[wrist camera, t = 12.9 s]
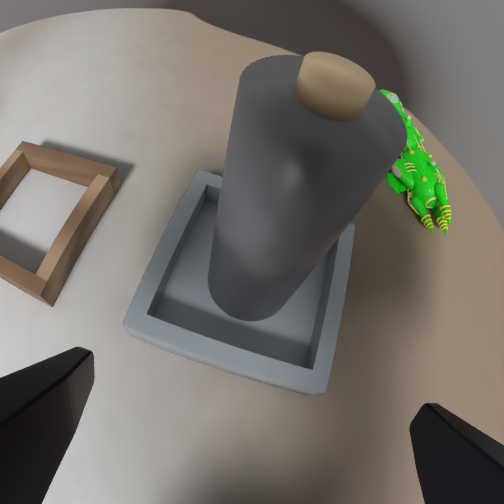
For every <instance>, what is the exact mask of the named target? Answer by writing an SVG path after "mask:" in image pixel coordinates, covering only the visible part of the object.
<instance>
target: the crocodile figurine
mask: <svg viewBox="0 0 504 504" xmlns="http://www.w3.org/2000/svg"><path fill="white" fill-rule="evenodd" d="M379 91H380V92H381V93H383V94H384V95H385V96H386V97H387V98H388V99H389V100H390V102H391V103H392V104H393V105H394V106H395V108H396V109H397V110H398V112H399V114H400V115H401V117H402V119H403V121H404V124H405V126H406V130H407V144H406V146H405V149H404V150H403V152H402V153H401V154H400V156H399V157H400V159H397V160H396V161H395V163H394V164H393V166H392V167H391V169H392V172H389V173H387V175H386V179H387V182H388V183H389V184H390V186H391V187H392V188H393V189H394V190H395V191H396V192H397V193H398V194H400V192H403V191H407V190H408V196H407V197H408V204H409V201H410V200H409V198H410V197H411V201H410V203H411V205H410V204H409V205H410V206H411V207H412V209H413V210H415V212H416V213H417V214H418V215H419V216H420V217H421V222H424V223H423V224H424V225H426V228H428V230H431V232H432V233H434V231H433V227H434V226H433V222H431V221H432V219H431V218H430V217H431V215H430V214H428V213H427V210H426V208H432V210H433V212H434V214H435V216H436V217H437V223H438V225H439V226H440V228H441V229H442V231H444V232H445V234H447V229H448V228H447V227H448V225H447V221H448V223H449V224H451V222H450V220H451V216H452V214H451V210H450V208H451V206H450V205H449V204H448V198H447V191H446V185H445V179H444V176H443V174H442V172H441V171H440V169H438V165H437V163H435V162H434V161H431V159H430V158H431V157H432V155H430V154H427V153H426V151H425V149H424V147H423V145H422V143H423V142H424V138H423V136H422V134H421V132H420V131H419V130H418V129H417V128H416V127H414V126H412V124H411V122H410V120H412V117H411V116H406V114H405V113H404V109H403V108H402V103H401V102H400V100H399V99H398V97H397V96H396V94H394V93H391V92H389V91H386V90H379ZM421 145H422V146H421ZM421 147H422V148H423V149H424V150H422V149H421ZM409 190H410V193H409ZM412 196H413V197H412ZM425 207H426V208H425Z"/></svg>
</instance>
